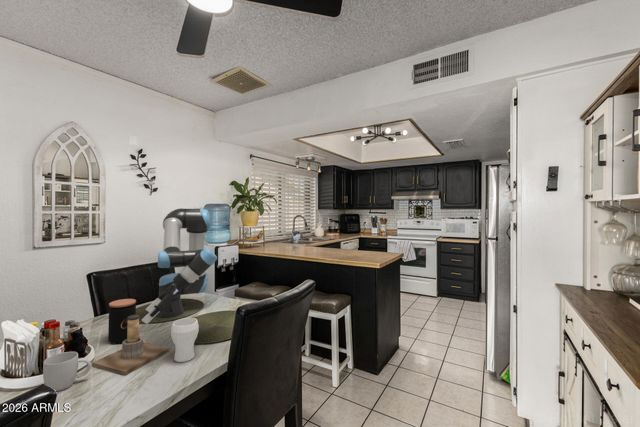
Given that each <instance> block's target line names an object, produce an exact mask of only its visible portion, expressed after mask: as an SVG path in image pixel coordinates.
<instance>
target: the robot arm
mask: <svg viewBox="0 0 640 427" xmlns="http://www.w3.org/2000/svg"><path fill="white" fill-rule="evenodd" d="M162 228H163V229H164V233H163V234H164V235H163V248H162V249H163V251H159V252H158V253H157V267H158V268H160V269H171V268H182V269H181V271H180V272H174V273H173V272H172V273H169V274H165V275H163V276H161V277H160V278H159V281H158V282H159V283H158V286H159V287H158V297H157V298H156V299H155V300H154V301H153V302H151V303H150V304H149V305H148V306H147V307H146V308H145V311H147V312H148V313H147V314H146V315H145V316H144V317H143V318H142V319H141V321H142V322H143V323H144V324H146V325H148V324H149V323H150V322H151V321H152V320H153V319H155V317H156V318H171V317H176V315H177V316H179V315H181V314H183V313H184V306H183V303H182V300H181V296H182V295H184V296H185V295H192V294H194V295H195V294H197V295H198V294H203V293H205V291H206V290H207V288H208V281H209V280H208V279H209V277H208V273H206V271H207V270H208V269H210V267H211V266H213V265H214V264H215V262H216V261H217V260H218V256H217V255H216V254H215V253H214V252H213V251H212V250H211V249H209V247H208V248H207V247H205V234H206V233H207V232H208V230H209V229H210V228H211V218H210V213H209V210H208V209H205V208H177V209H176V208H175V209H174V210H171V211H170V212H169V213H167V214H166V216H165V217H164V218H163V221H162ZM181 229H186V233H188V250H181V248H182V247H181ZM182 312H183V313H182Z"/></svg>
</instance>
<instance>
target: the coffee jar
mask: <svg viewBox="0 0 640 427" xmlns="http://www.w3.org/2000/svg"><path fill="white" fill-rule="evenodd" d="M136 303H137V300H136V299H134V298H123V299H117V300H113V301H111V302H109V303H108V306H109V308H108V328H107V329H108V332H107V333H108V334H107V335H108V338H107V339H108V340H107V341H108V342H109V343H110V344H112V345H122V342H123V341H124V340H126V339H127V325H128V316H131V315H137V305H136Z"/></svg>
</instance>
